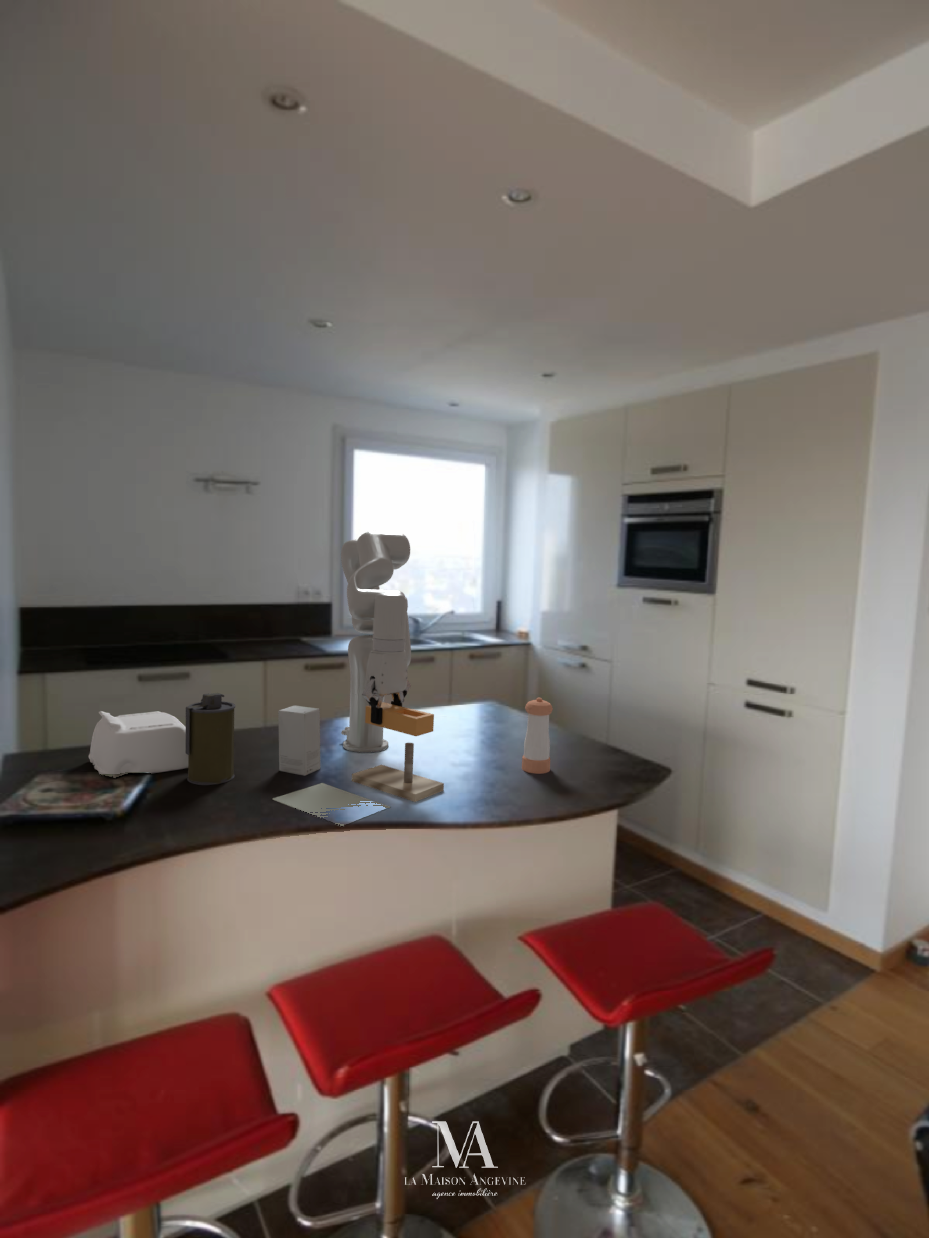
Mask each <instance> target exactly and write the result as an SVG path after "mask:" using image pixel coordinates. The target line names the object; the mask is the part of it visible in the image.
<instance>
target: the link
mask: <svg viewBox="0 0 929 1238" xmlns="http://www.w3.org/2000/svg"><path fill="white" fill-rule="evenodd" d="M381 708H383V710H382V724H381V725H378V724H374V723H371V706H366V713H365V723H368V724H372V725H376V726H379V727H383V729H387V730H391V731H394V732H398V733H402V734H405V735H409V736H413V737H419V736H423V735H425V734H429V733H432V732H434V726H435V725H434V722H435V721H434V720H435V714H434V713H430V712H427V711H426V712H425V711H422V710H417V709H414V708H409V707H405V706H402V707H401V706H397V705H393V704H391V703H390V702H389V703H388V702H385V701H384V702H382V704H381Z"/></svg>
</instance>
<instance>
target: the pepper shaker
mask: <svg viewBox="0 0 929 1238" xmlns="http://www.w3.org/2000/svg"><path fill="white" fill-rule="evenodd" d="M524 709H525V711H526V713H527V723H526V725H527V727H526V732H525V738H524V742H523V755H522V758H521V770H522V771H524V772H526V773H529V774H537V775H538V774H547V773H549V772H550V770H551V757H550V751H551V748H550V747H551V741H550V731H549V729H550V728H549V726H550V715H552V712H553V710H554V708H553V705H552V704H551V703H550V702H549V701H547V700H544V699H543V698H542V697H536V699H532V700H530V701H527V703H526V704H525V707H524Z"/></svg>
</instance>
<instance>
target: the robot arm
mask: <svg viewBox="0 0 929 1238" xmlns="http://www.w3.org/2000/svg"><path fill="white" fill-rule="evenodd" d="M410 556H411V543H410V540H409V538H408V537H407V536H406V535H405V534H404V533H401V532H388V531H367V532H364V533H363V534H360V536H359V537H358V538H356V539H355V538H354V539H350V540H347V541H345V542H344V543H343V544H342V547H341V551H340V561H341V567H342V571H343V574H344V576H345V580H346V582H347V587H346V597H347V599H346V600H347V605H348V611H349V614H350V617H351V624H352V628H353V629H354V631H356V632H357V633H361V635H357V636H354V637H353V638H352V639H350V641H349V643H348V645H347V655H348V656H347V657H348V661H349V662H348V663H349V676H350V677H349V678H350V679H349V682H350V683H349V688H350V689H349V719H348V720H349V724H348V726H345V727H344V729H342V730H341V731H340V732H341V733H340V734H341V735H343V736H346V739H345V740H344V741H343V742H342V746H343V748H344V749H345V750H347V751H350V752H354V753H355V752H356V753H364V754H365V753H376V752H381V751H384V750H386V749H388V748H389V742H388V741H387V740H386V739H384V728H383V727H379V726H376V725H372V724H368V723H365V713H366V706H371V723H374V724H378V725H381V724H382V710H383V708H381V704H382V702H385V696H389V695H391V699H392V700H391V701H390V704H393V705H397V706H401V707H403V703H404V702H405V698H406V696H407V694H408V692H409V690H410V689H411V686H412V684H411V683H410V681H409V680H408V667H409V665H410V664H411V661H412V646H411V645H412V644H411V634H410V624H409V615H408V608H409V602H408V598H407V596H406V595H405V593H404V592H403V591H400V590H397V589H395V590H393V589H380V586H382V585H385V584H386V583H388V582H389V581H390V580H391V578H392V577H393V575H394V571H395V570H398V569H400V568H402V567H403V566H404V565H405V564H407V562H408V561H409V559H410Z"/></svg>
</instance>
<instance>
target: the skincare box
mask: <svg viewBox="0 0 929 1238" xmlns="http://www.w3.org/2000/svg"><path fill="white" fill-rule="evenodd" d="M320 710H321V709H320V708H316V707H309V706H308V707H307V706H301V705H291V706H288V707H286V708H282V709H279V710H278V713H277V714H278V715H277V716H278V763H279V765H278V766H279V769H278V770H279V771H280V772H285V773H289V774H293V775H294V774H295V775H299V776H304V777H305V776H307V775H310V774H312V773H315V772H317V771H319V770H320V769H321V720H320V718H321V715H320V714H321V711H320Z"/></svg>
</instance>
